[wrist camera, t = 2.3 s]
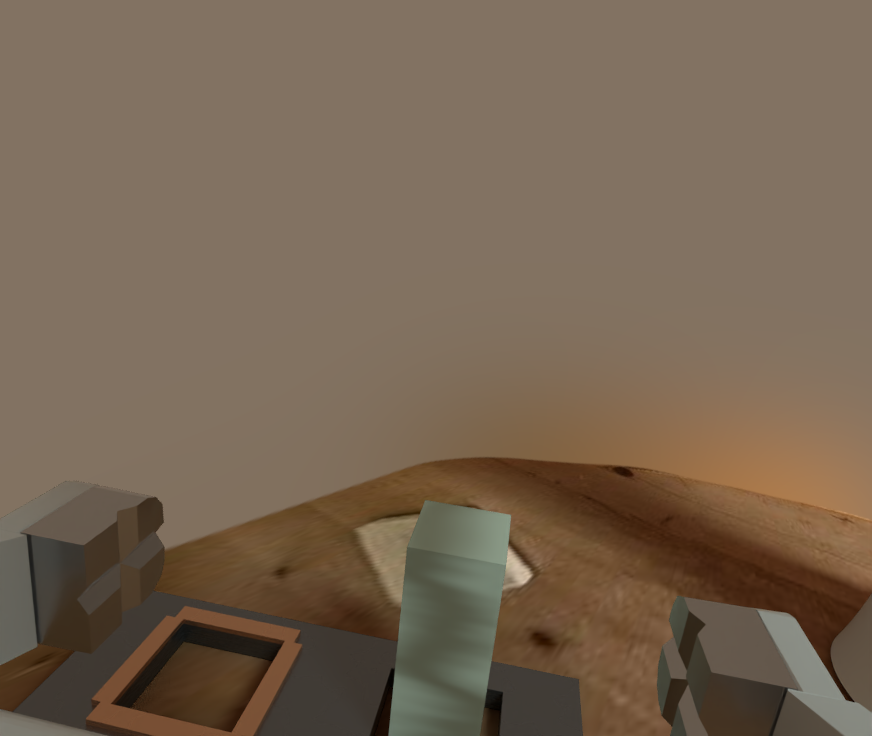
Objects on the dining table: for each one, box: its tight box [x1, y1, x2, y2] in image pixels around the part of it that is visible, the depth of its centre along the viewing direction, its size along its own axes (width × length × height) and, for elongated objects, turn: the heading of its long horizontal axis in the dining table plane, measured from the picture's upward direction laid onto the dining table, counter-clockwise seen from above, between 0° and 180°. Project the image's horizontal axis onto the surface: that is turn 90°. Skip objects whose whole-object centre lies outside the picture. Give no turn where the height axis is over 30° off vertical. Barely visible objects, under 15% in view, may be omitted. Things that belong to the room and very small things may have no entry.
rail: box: [13, 591, 583, 736], centre depth 30 cm, size 26×10×2 cm, turn 80°
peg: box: [388, 500, 511, 736], centre depth 28 cm, size 4×4×12 cm
